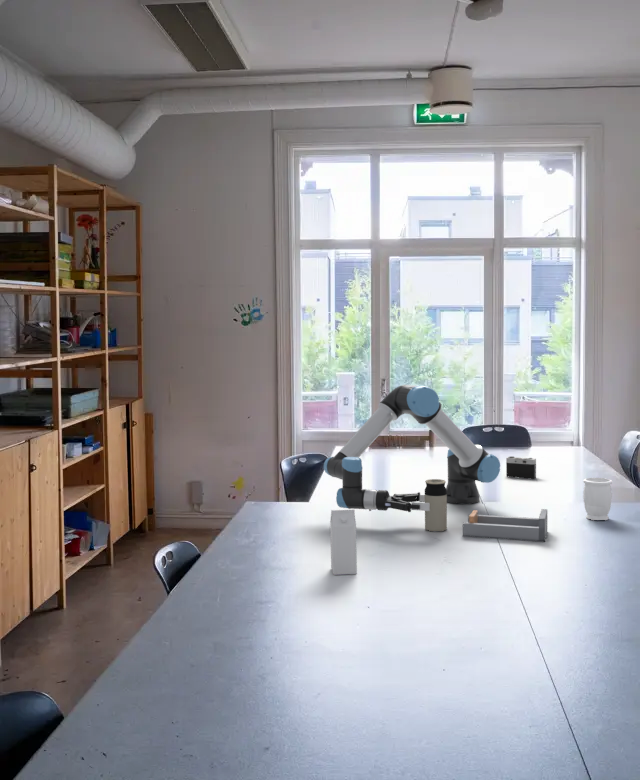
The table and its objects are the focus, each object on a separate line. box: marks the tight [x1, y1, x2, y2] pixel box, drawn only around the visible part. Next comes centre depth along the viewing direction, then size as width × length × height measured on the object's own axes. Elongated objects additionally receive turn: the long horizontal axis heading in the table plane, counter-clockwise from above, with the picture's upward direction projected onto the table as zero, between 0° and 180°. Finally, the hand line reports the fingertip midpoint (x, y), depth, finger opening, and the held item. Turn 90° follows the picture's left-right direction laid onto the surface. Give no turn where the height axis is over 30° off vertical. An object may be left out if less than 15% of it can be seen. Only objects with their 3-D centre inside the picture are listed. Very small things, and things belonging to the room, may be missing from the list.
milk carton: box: [329, 509, 358, 576], centre depth 238 cm, size 7×7×19 cm
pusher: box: [469, 509, 479, 523], centre depth 283 cm, size 10×2×6 cm, turn 161°
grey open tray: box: [462, 508, 548, 543], centre depth 279 cm, size 15×28×8 cm, turn 71°
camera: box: [505, 456, 537, 480], centre depth 388 cm, size 14×8×10 cm, turn 59°
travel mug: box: [424, 478, 448, 532], centre depth 287 cm, size 8×8×18 cm
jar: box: [582, 477, 613, 521], centre depth 299 cm, size 11×10×15 cm
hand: (433, 503), depth 287 cm, fingers open, 13 cm apart
